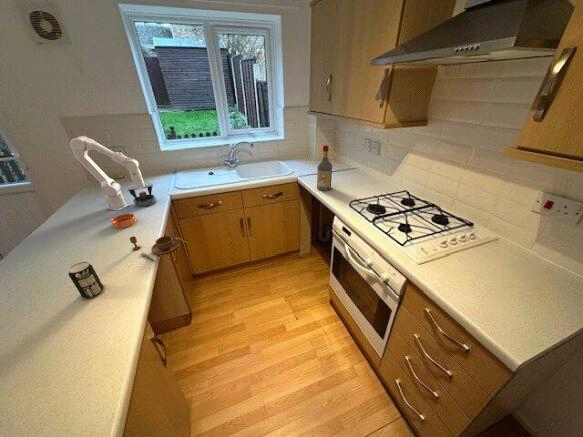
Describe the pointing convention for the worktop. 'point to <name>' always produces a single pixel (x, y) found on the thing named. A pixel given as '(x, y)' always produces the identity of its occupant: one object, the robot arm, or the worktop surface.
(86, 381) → the worktop surface
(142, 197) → the spice jar
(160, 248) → the place setting
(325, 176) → the liquor
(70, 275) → the beverage can
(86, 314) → the worktop surface
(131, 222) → the terracotta bowl
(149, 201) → the blue bowl
